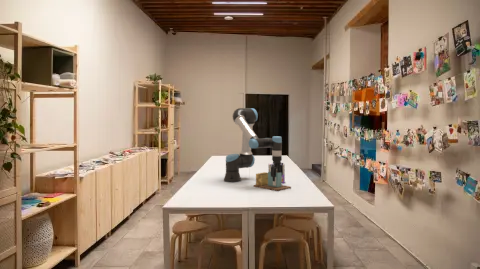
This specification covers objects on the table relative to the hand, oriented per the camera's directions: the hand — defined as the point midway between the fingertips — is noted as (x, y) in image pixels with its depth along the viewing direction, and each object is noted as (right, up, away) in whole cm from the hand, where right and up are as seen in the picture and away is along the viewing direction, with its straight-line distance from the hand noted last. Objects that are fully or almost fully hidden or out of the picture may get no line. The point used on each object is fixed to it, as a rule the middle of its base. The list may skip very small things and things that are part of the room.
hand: (276, 184), depth 286 cm
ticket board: (-4, -3, +4) cm, 6 cm away
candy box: (+2, -2, +24) cm, 24 cm away
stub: (-2, -1, +2) cm, 3 cm away
